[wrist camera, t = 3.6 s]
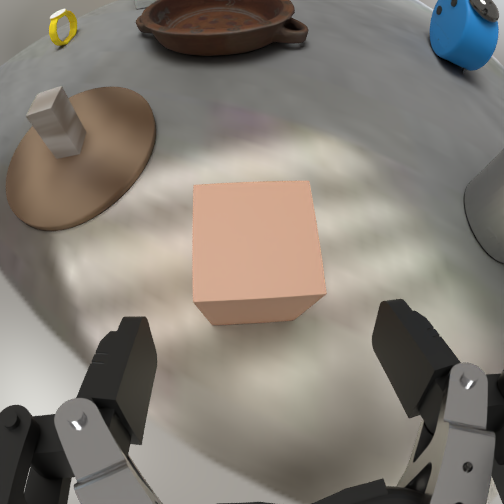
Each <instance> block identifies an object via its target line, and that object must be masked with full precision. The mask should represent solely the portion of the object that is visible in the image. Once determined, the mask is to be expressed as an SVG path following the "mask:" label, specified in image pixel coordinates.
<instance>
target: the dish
mask: <svg viewBox="0 0 504 504" xmlns="http://www.w3.org/2000/svg"><path fill="white" fill-rule="evenodd" d="M294 11H295V10H294V6H293V4H292V2H291V1H290V0H157V1H155V2H154V3H152V4H151V5H150V6H148V7H147V8H146V9H145V10H144V11H143V13H142V15H141V16H140V17H139V18H138V19H137V20H136V24H137V27H138V28H139V30H140V31H141V32H144V33H153V35H154V36H155V38H156V39H157V40H158V41H159V42H160V44H162V45H163V46H164V47H166V48H168V49H170V50H172V51H175V52H179V53H183V54H191V55H203V56H216V55H229V54H238V53H244V52H248V51H252V50H256V49H259V48H262V47H264V46H266V45H268V44H270V43H272V42H281V43H302V42H304V41H305V40H306V37H307V33H308V28H307V26H306V25H304V24H303V23H301V22H300V21H298V20H295V19H293V18H291V17H292V15H293V14H294V13H295V12H294Z"/></svg>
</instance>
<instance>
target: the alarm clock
mask: <svg viewBox="0 0 504 504" xmlns="http://www.w3.org/2000/svg"><path fill="white" fill-rule="evenodd" d="M498 18H499V12H498V9H497V7H496V5H495V4H494V2H493V1H492V0H438V1H437V3H436V5H435V8H434V10H433V14H432V18H431V23H430V41H431V46H432V48H433V50H434V52H435V53H436V54H437V55H438V56H439V57H441V58H444V59H446V60H448V61H450V62H452V63H454V64H456V65H458V66H460V67H462V73H463V74H464V72H465V70H477V69H479V68H481V67H483V66H484V65H485V64H486V63H487V62H488V61H489V59H490V58H491V56H492V54H493V52H494V50H495V48H496V44H497V40H498V22H497V20H498Z"/></svg>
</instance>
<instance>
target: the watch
mask: <svg viewBox="0 0 504 504" xmlns="http://www.w3.org/2000/svg"><path fill="white" fill-rule="evenodd" d="M64 15H65V16H67V17H68V20H69V22H70V32H69V36H68V37H67V38H66V39H65V40H64V41H63V42H62V41H61V40H60V39H59V38H58V35H57V32H56V31H57V22H58V19H60V18H61V17H63V16H64ZM50 19H51V23H50V26H49V35H50V38H51V41H52V42H53V43H54V44H55V45H58V46H62V45H66V44H68V42H69V41H70V40H71V39H72V38H73V37H74V36H75V35H76V31H77V19H76V17H75V15H74V14H73V13H72V12H71V11H67V10H66V9H62V10H59V11H57V12H56V13H54V14H53V15H51V17H50Z"/></svg>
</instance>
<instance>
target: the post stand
mask: <svg viewBox="0 0 504 504" xmlns="http://www.w3.org/2000/svg"><path fill="white" fill-rule="evenodd" d="M26 117H27V118H28V120H29V121H30V123H31V124H32V127H31V128H30V130H29V131H28V132H27V133H26V135H25V136H24V137H23V139H22V140H21V142H20V143H19V145H18V147H17V149H16V150H15V153H14V155H13V157H12V159H11V162H10V165H9V168H8V172H7V178H6V195H7V200H8V203H9V206H10V207H11V209H12V211H13V212H14V213H15V215H16V216H17V217H18V218H20V219H21V220H22V221H23V222H25V223H26V224H27V225H29V226H31V227H33V228H35V229H39V230H44V231H56V230H64V229H67V228H71V227H74V226H77V225H79V224H82V223H84V222H86V221H88V220H90V219H92V218H94V217H96V216H97V215H99V214H100V213H102V212H103V211H105V210H106V209H107V208H109V207H110V206H111V205H112V204H114V203H115V202H116V201H117V200H118V199H119V198H120V197H121V196H122V195H123V194H124V193H126V192H127V190H128V189H129V188H130V187H131V186H132V185H133V183H134V182H135V181H136V180H137V178H138V177H139V175H140V174H141V173H142V171H143V169H144V168H145V166H146V164H147V162H148V160H149V158H150V156H151V153H152V151H153V147H154V144H155V138H156V124H155V120H154V116H153V113H152V110H151V108H150V106H149V104H148V102H147V101H146V100H145V99H144V98H143V97H142V96H141V95H140V94H138V93H136V92H134V91H132V90H129V89H126V88H121V87H101V88H95V89H91V90H87V91H84V92H82V93H79V94H76V95H74V96H72V97H70V98H68V97H67V95H66V93H65V91H64V89H63V87H62V86H60V87H57V88H54V89H51V90H48V91H45V92H42V93H39V94H37V95H36V97H35V99H34V101H33V103H32V105H31V107H30V109H29V111H28V113H27V115H26Z"/></svg>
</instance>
